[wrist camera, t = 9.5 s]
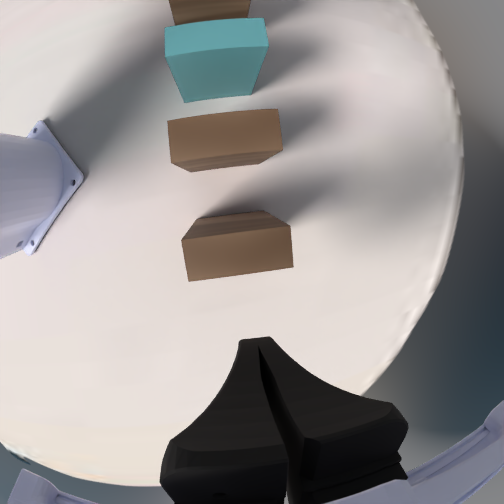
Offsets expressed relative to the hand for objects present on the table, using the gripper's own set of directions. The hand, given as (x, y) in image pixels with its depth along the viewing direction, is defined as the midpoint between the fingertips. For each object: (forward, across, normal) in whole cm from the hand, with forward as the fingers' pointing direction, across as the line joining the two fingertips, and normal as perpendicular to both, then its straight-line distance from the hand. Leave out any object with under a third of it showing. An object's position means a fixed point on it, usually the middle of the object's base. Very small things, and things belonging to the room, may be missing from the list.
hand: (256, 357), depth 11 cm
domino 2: (+10, +1, -15) cm, 18 cm away
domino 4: (+10, 0, -4) cm, 11 cm away
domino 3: (+10, +1, -10) cm, 14 cm away
